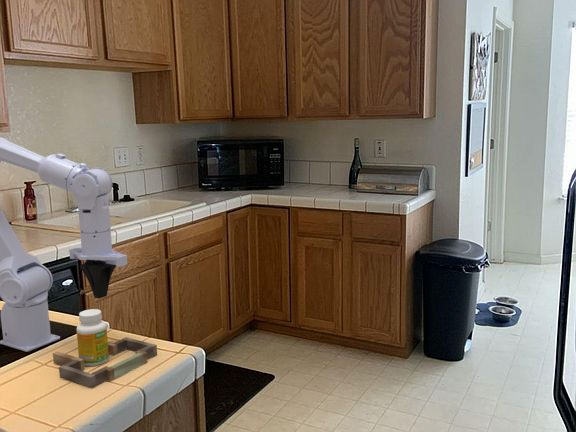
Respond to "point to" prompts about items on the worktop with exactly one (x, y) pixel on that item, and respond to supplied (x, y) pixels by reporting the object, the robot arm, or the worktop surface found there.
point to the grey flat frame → (75, 365)
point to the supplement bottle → (92, 338)
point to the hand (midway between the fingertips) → (100, 296)
